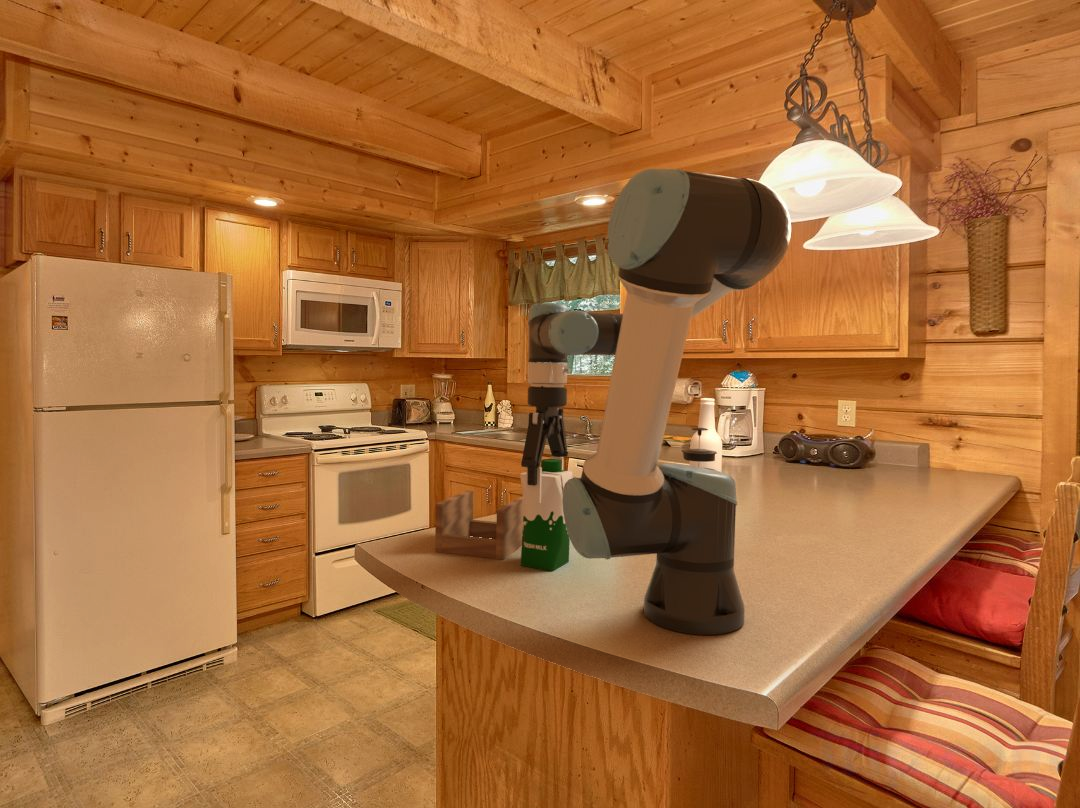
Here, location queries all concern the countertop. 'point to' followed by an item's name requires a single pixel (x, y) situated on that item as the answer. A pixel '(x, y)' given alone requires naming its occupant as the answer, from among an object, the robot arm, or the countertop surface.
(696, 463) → the alcohol
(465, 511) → the wooden holder
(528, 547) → the milk carton
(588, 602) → the countertop surface
